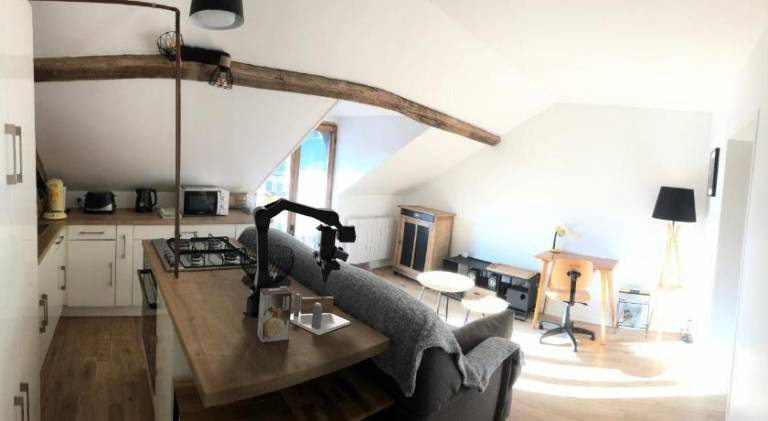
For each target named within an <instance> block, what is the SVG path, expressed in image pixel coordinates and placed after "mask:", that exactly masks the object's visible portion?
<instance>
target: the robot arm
mask: <svg viewBox="0 0 768 421" xmlns="http://www.w3.org/2000/svg"><path fill="white" fill-rule="evenodd" d="M284 211H287V212H291V213H294V214H298V215H302V216H306V217H309V218H313V219H315V220H317V221H319V223H320V224H319V225H318V226H316V227H315V229H316V230H317V231H319V232H320V242H319V243H318V247H319V250H314V251H313V252H312V258H313V259H314V260H315V264H316V266H317V270H318V272H319V275H320V279H321V281H322V283H324V284H326V283H327V282H328V279H329V276H330V274H331V272H332V271H340V270H341V264H340V263H339V261H338V260H340V261H342V262H344V263H347V261H348V259H349V256H350V254H349V253H348V252H346V251H345V250H344V248H343V247H342V246H340V245H339V246H336V240H337V241H338V242H339V243H341V244H342V243H343V244H344V243H345V244H346V243H348V244H355V243H356V241H357V235H356V234H357V233H356V232H357V231H356V226H355V225H354V224H353V225H352V224H349V225H343V224H342V223H341V221H340V215H339V213H338V212H337V211H335V210H333V209H331V208H327V207H314V206H311V205H307V204H304V203H300V202H296V201H294V200H290V199H287V198H285V197H280V198H278V199H276V200H274V201H272V202H269V203H266V204H265V205H262V206H261V205H259V206H256V207H255V208H254V209H253V210H252V218H253V224H254V226H255V232H256V265H257V267H256V271H255V276H254V282H253V283H252V284H251V285H250V286H249V287H248V288H247V291H248V294H249V296H247V297H246V308H245V310H243V311H242V312H243V313H244V314H245V315H247V316H250V317H251V318H259V305H260V289H264V288H275V285H274V274H273V272H272V271H270V270H269V238H268V237H269V234H268V233H269V229H270V226H271V219H274V218H275V217H277V216H278V215H279V214H281V213H283V212H284ZM324 224H325V225H324ZM332 227H335V228H332ZM316 259H317V260H316ZM337 259H338V260H337Z"/></svg>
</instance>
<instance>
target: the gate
mask: <svg viewBox="0 0 768 421" xmlns="http://www.w3.org/2000/svg"><path fill="white" fill-rule="evenodd" d="M334 300H335V299H334V296H303V297H302V296H301V297H300V309H299V312H300V314H313V306H314V305H315V303H317V302H318V303H320V304H321V306H322V307H323V308H322V313H331V314H333V309H334Z"/></svg>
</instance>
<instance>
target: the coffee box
mask: <svg viewBox="0 0 768 421" xmlns="http://www.w3.org/2000/svg"><path fill="white" fill-rule="evenodd" d="M292 298H293V293H292V291H291V290H290V289H289V288H288V287H285V286H284V287H272V288H264V289H260V305H259V316H258V323H257V336H258V338H259V340H260V342H261V343H268V342H277V341H278V342H279V341H287V340H289V339H290V330H291V329H290V328H291V322H290V316H291V314H292V302H293V300H292Z"/></svg>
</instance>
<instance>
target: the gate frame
mask: <svg viewBox="0 0 768 421" xmlns="http://www.w3.org/2000/svg"><path fill="white" fill-rule="evenodd" d="M301 297H302V295H301V293H295V294H294V303H293V304H294V305H293V313H291V316H290V323H292V324H293V325H296V326H298V327H300V328H302V329H304V330H307V331H309V332H311V333H313V334H316V335H317V336H321V335H323V334H327V333H329V332H331V331H334V330H337V329H340V328H343V327H345V326H348V325H350V324H351V321H350V320H348V319H345V318H343V317H340V316H338V315H336V314H333V313H322V308H323V307H322V306H321V304H320V303H318V302H317V303H315V305H314V306H313V314H300V310H301Z"/></svg>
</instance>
